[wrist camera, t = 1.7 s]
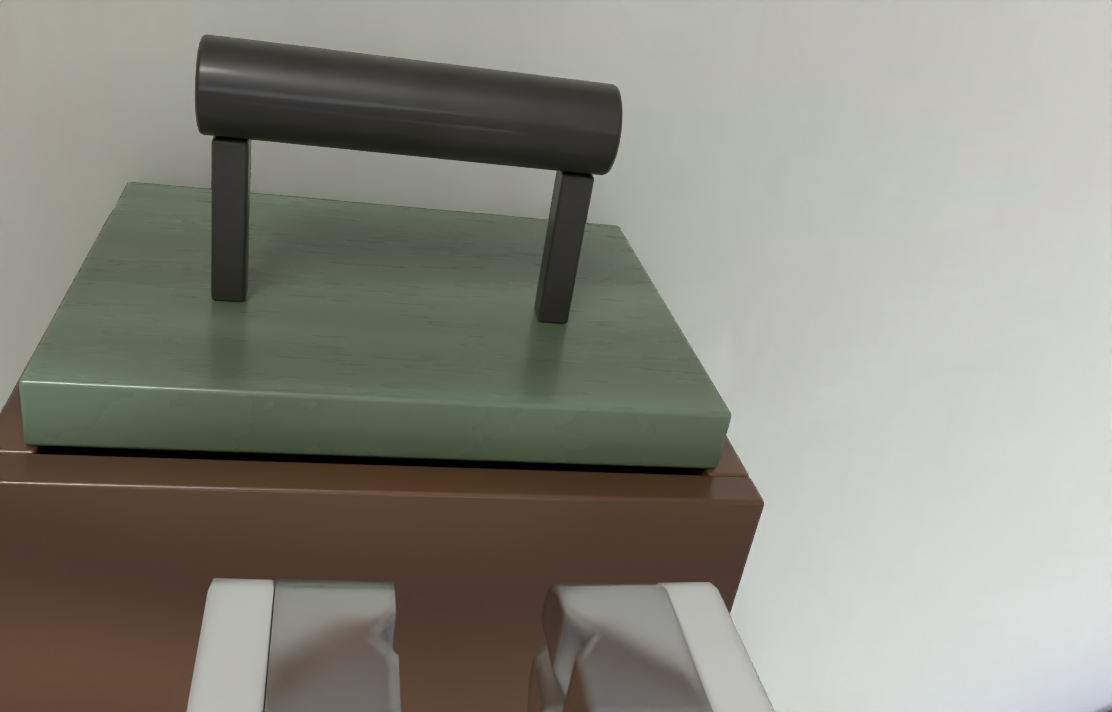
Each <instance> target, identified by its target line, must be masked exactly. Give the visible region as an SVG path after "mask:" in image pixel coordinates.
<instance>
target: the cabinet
mask: <svg viewBox="0 0 1112 712" xmlns="http://www.w3.org/2000/svg"><path fill="white" fill-rule="evenodd" d="M109 216H110V215H109ZM108 218H109V217H108ZM108 218H107V220H108ZM107 220H106V222H107ZM106 222H105V224H106ZM105 224H104V225H105ZM103 227H104V226H103ZM102 229H103V228H102ZM101 231H102V230H101ZM101 231H100V233H101ZM100 233H99V234H100ZM98 236H99V235H98ZM97 238H98V237H97ZM96 240H97V239H96ZM95 242H96V241H95ZM95 242H94V244H95ZM94 244H93V245H94ZM92 247H93V246H92ZM91 249H92V248H91ZM90 251H91V250H90ZM90 251H89V253H90ZM89 253H88V255H89ZM88 255H87V256H88ZM86 258H87V257H86ZM85 260H86V259H85ZM85 260H84V262H85ZM84 262H83V264H84ZM83 264H82V265H83ZM81 267H82V266H81ZM80 269H81V268H80ZM79 271H80V270H79ZM79 271H78V273H79ZM78 273H77V275H78ZM77 275H76V276H77ZM75 278H76V277H75ZM74 280H75V279H74ZM74 280H73V282H74ZM73 282H72V284H73ZM72 284H71V285H72ZM70 287H71V286H70ZM69 289H70V288H69ZM68 291H69V290H68ZM68 291H67V293H68ZM67 293H66V295H67ZM66 295H65V296H66ZM64 298H65V297H64ZM63 300H64V299H63ZM63 300H62V302H63ZM62 302H61V304H62ZM61 304H60V305H61ZM59 307H60V306H59ZM58 309H59V308H58ZM58 309H57V311H58ZM57 311H56V313H57ZM56 313H55V315H56ZM55 315H54V316H55ZM53 318H54V317H53ZM52 320H53V319H52ZM52 320H51V322H52ZM51 322H50V324H51ZM50 324H49V325H50ZM48 327H49V326H48ZM47 329H48V328H47ZM47 329H46V331H47ZM46 331H45V333H46ZM45 333H44V335H45ZM44 335H43V336H44ZM42 338H43V337H42ZM41 340H42V339H41ZM41 340H40V342H41ZM40 342H39V344H40ZM39 344H38V346H39ZM38 346H37V347H38ZM36 349H37V348H36ZM36 349H35V351H36ZM35 351H34V353H35ZM34 353H33V355H34ZM33 355H32V356H33ZM31 358H32V357H31ZM31 358H30V360H31ZM30 360H29V362H30ZM29 362H28V364H29ZM28 364H27V366H28ZM27 366H26V367H27ZM25 369H26V368H25ZM25 369H24V371H25ZM24 371H23V373H24ZM23 373H22V375H23ZM22 375H21V376H22ZM20 378H21V377H20ZM20 378H19V380H20ZM19 380H18V382H17V384H16V386H15V388H14V389H13V391H12V393H11V395H10V397H9V398H8V400H7V402H6V404H5V406H4V407H3V409H2V411H1V413H0V712H187V706H188V700H189V695H190V689H191V683H192V678H193V672H194V666H195V661H196V655H197V649H198V644H199V638H200V632H201V627H202V621H203V616H204V610H205V604H206V599H207V593H208V589H209V587H210V585H211V583H212V581H213V579H214V578H227V579H260V580H273V581H275V588H276V580H277V579H296V580H329V581H362V582H393V584H394V589H395V602H396V621H395V630H394V640H393V650H394V651H395V652H396V653H397V654H398V655H399V676H400V700H401V712H527V711H528V686H529V677H530V672H531V666H532V660H533V654H534V653H536V652H537V651H538V650H539V649H540V648H541V647H542V646H543V645H544V644H545V643H546V639H545V634H544V629H543V625H542V620H541V615H542V610H543V606H544V601H545V596H546V594H547V592H548V590H549V588H550V585H551V584H657V583H672V582H710V583H711V584H712V585H714V586H715V587H716V588H717V589H718V590H719V592H720V595H721V597H722V599H723V601H724V603H725V605H726V607H727V610H728V612H729V614H730V611H731V608H732V605H733V602H734V599H735V596H736V592H737V589H738V586H739V583H740V580H741V576H742V573H743V570H744V567H745V564H746V560H747V557H748V554H749V551H750V548H751V544H752V541H753V538H754V535H755V532H756V529H757V525H758V522H759V519H760V516H761V513H762V509H763V506H764V501H763V499H762V497H761V496H760V494H759V492H758V490H757V489H756V487H755V485H754V483H753V482H752V480H751V479H750V478H749V476H748V473H747V471H746V469H745V468H744V466H743V464H742V462H741V461H740V459H739V457H738V455H737V454H736V452H735V450H734V448H733V447H732V445H731V443H730V441H729V440H728V438H727V436H726V437H725V441H724V444H723V448H722V451H721V455H720V458H719V462H718V465H717V467H716V468H715V469H698V468H669V467H640V466H638V468H639V471H640V473H641V474H640V473H609V472H579V471H548V470H518V469H487V468H457V467H426V466H396V465H366V464H335V463H305V462H274V461H244V460H213V459H183V458H152V457H122V456H101V453H102V450H103V448H89V447H60V446H31V445H27V444H26V443H25V441H24V433H23V422H22V412H21V401H20V391H19Z"/></svg>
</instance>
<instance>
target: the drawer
mask: <svg viewBox="0 0 1112 712" xmlns="http://www.w3.org/2000/svg"><path fill="white" fill-rule="evenodd" d="M195 112H196V122H197V127H198V129H199V132H200V133H202V134H203V135H212V136H214V137H213V140H212V181H211V189H203V188H192V187H181V186H170V185H159V184H148V183H136V182H129V183H128V184H127V185H126V187H125V189H124V191H123V193H122V194H121V196H120V198H119V200H118V202H117V204H116V205H115V207H114V209H113V211H112V213H111V214H110V216H109V218H108V220H107V222H106V224H105V225H104V227H103V229H102V231H101V233H100V234H99V236H98V238H97V240H96V242H95V244H94V245H93V247H92V249H91V251H90V253H89V255H88V256H87V258H86V260H85V262H84V264H83V265H82V267H81V269H80V271H79V273H78V275H77V276H76V278H75V280H74V282H73V284H72V285H71V287H70V289H69V291H68V293H67V295H66V296H65V298H64V300H63V302H62V304H61V305H60V307H59V309H58V311H57V313H56V315H55V316H54V318H53V320H52V322H51V324H50V325H49V327H48V329H47V331H46V333H45V335H44V336H43V338H42V340H41V342H40V344H39V346H38V347H37V349H36V351H35V353H34V355H33V356H32V358H31V360H30V362H29V364H28V366H27V367H26V369H25V371H24V373H23V375H22V376H21V378H20V380H19V391H20V401H21V412H22V422H23V433H24V441H25V443H26V444H27V445H31V446H60V447H89V448H103V450H102V453H101V456H122V457H152V458H183V459H213V460H244V461H274V462H305V463H335V464H366V465H396V466H426V467H457V468H487V469H518V470H548V471H579V472H609V473H640V471H639V468H638V466H640V467H669V468H698V469H715V468H716V467H717V465H718V462H719V458H720V455H721V451H722V448H723V444H724V441H725V437H726V433H727V430H728V426H729V423H730V419H731V413H730V411H729V409H728V408H727V406H726V404H725V403H724V401H723V399H722V398H721V396H720V394H719V393H718V391H717V389H716V388H715V386H714V384H713V383H712V381H711V379H710V378H709V376H708V374H707V373H706V371H705V369H704V368H703V366H702V364H701V363H700V361H699V359H698V358H697V356H696V354H695V353H694V351H693V349H692V348H691V346H690V344H689V343H688V341H687V339H686V338H685V336H684V334H683V333H682V331H681V329H680V328H679V326H678V324H677V323H676V321H675V319H674V318H673V316H672V314H671V313H670V311H669V309H668V308H667V306H666V304H665V303H664V301H663V299H662V298H661V296H660V294H659V293H658V291H657V289H656V288H655V286H654V284H653V283H652V281H651V279H650V278H649V276H648V274H647V273H646V271H645V269H644V268H643V266H642V264H641V263H640V261H639V259H638V258H637V256H636V254H635V253H634V251H633V249H632V248H631V246H630V244H629V243H628V241H627V239H626V238H625V236H624V234H623V233H622V231H621V229H620V228H619V227H618V226H614V225H603V224H592V223H586V220H587V215H588V209H589V204H590V199H591V193H592V188H593V182H594V177H593V176H592V174H596V175H604V174H607V173H608V172H609V171H610V169H611V168H612V166H613V163H614V161H615V158H616V155H617V152H618V148H619V143H620V138H621V130H622V101H621V95H620V91H619V89H618V88H617V87H616V86H615V85H613V84H606V83H598V82H590V81H582V80H574V79H565V78H557V77H549V76H541V75H533V74H525V73H516V72H508V71H500V70H492V69H484V68H476V67H468V66H459V65H451V64H443V63H435V62H427V61H419V60H411V59H402V58H394V57H386V56H378V55H370V54H362V53H354V52H345V51H337V50H329V49H321V48H313V47H305V46H297V45H288V44H280V43H272V42H264V41H256V40H248V39H240V38H231V37H223V36H215V35H204V36H202V38H201V41H200V43H199V48H198V54H197V63H196V77H195ZM251 140H261V141H271V142H281V143H291V144H300V145H310V146H320V147H330V148H340V149H350V150H360V151H369V152H379V153H389V154H399V155H409V156H419V157H429V158H438V159H448V160H458V161H468V162H478V163H488V164H497V165H507V166H517V167H527V168H537V169H547V170H557V172H556V178H555V184H554V190H553V196H552V202H551V208H550V214H549V220H547V219H536V218H525V217H514V216H503V215H492V214H481V213H469V212H458V211H447V210H436V209H425V208H414V207H403V206H392V205H381V204H370V203H358V202H347V201H336V200H325V199H314V198H303V197H292V196H281V195H270V194H259V193H250V176H251ZM640 474H641V473H640Z"/></svg>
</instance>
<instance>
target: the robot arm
mask: <svg viewBox="0 0 1112 712" xmlns="http://www.w3.org/2000/svg"><path fill="white" fill-rule="evenodd" d="M541 620H542V625H543V629H544V634H545V639H546V643H545V644H544V645H543V646H542V647H541V648H540V649H539V650H538V651H537V652H536V653H534V654H533V660H532V666H531V672H530V677H529V686H528V711H527V712H775V711H774V709H773V707H772V704H771V702H770V700H769V698H768V696H767V694H766V691H765V689H764V687H763V685H762V683H761V681H760V679H759V676H758V674H757V672H756V670H755V668H754V666H753V663H752V661H751V659H750V657H749V655H748V653H747V651H746V648H745V646H744V644H743V642H742V640H741V638H740V635H739V633H738V631H737V629H736V627H735V625H734V623H733V620H732V618H731V616H730V614H729V612H728V610H727V607H726V605H725V603H724V601H723V599H722V597H721V595H720V592H719V590H718V589H717V588H716V587H715V586H714V585H712V584H711V583H710V582H672V583H657V584H551V585H550V588H549V590H548V592H547V594H546V596H545V601H544V606H543V610H542V615H541ZM395 621H396V602H395V589H394V584H393V582H362V581H329V580H296V579H277V580H276V588H275V581H273V580H260V579H227V578H214V579H213V581H212V583H211V585H210V587H209V589H208V593H207V599H206V604H205V610H204V616H203V621H202V627H201V632H200V638H199V644H198V649H197V655H196V661H195V666H194V672H193V678H192V683H191V689H190V695H189V700H188V706H187V712H401V700H400V676H399V655H398V654H397V653H396V652H395V651H394V650H393V640H394V630H395Z"/></svg>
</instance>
